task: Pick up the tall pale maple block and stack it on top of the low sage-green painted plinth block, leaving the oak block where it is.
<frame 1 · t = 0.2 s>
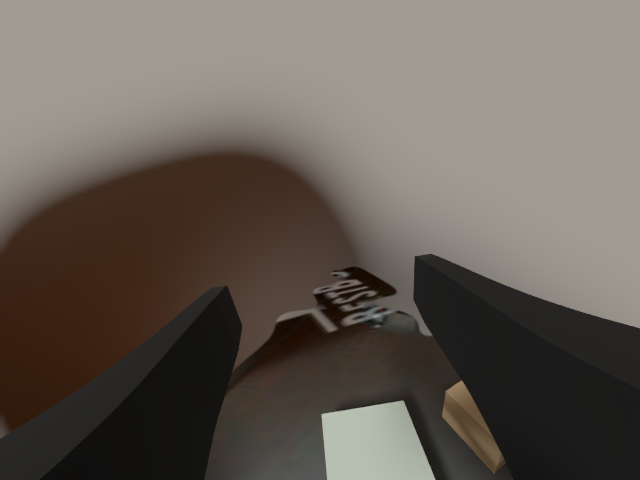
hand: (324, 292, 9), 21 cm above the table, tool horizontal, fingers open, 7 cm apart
oak block: (483, 428, 23), on the table
plinth block: (375, 477, 20), on the table
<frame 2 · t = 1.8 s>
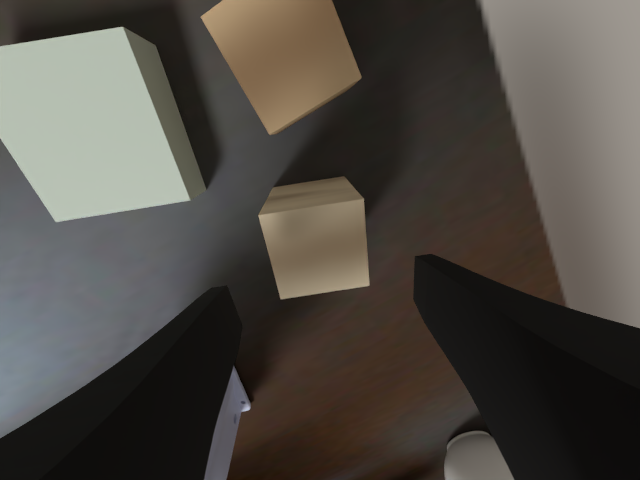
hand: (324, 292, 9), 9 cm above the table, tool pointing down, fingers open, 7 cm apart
maple block: (313, 215, 18), on the table
oak block: (290, 70, 14), on the table
plinth block: (124, 136, 15), on the table
lidded jar: (467, 441, 33), on the table
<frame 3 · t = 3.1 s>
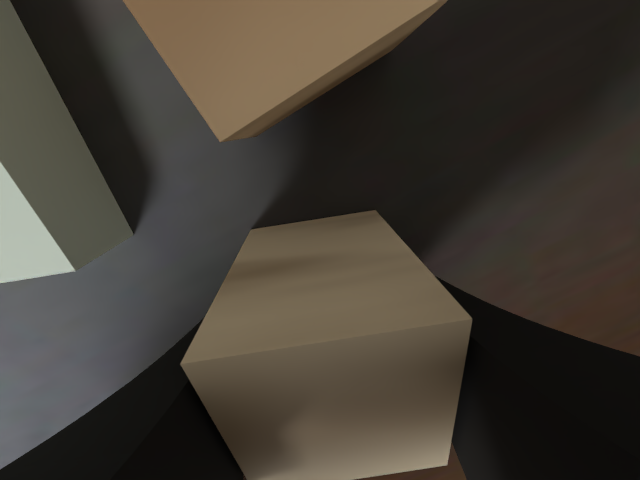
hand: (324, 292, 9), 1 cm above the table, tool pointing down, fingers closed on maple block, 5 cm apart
maple block: (321, 272, 11), on the table, touching gripper
oak block: (278, 7, 7), on the table
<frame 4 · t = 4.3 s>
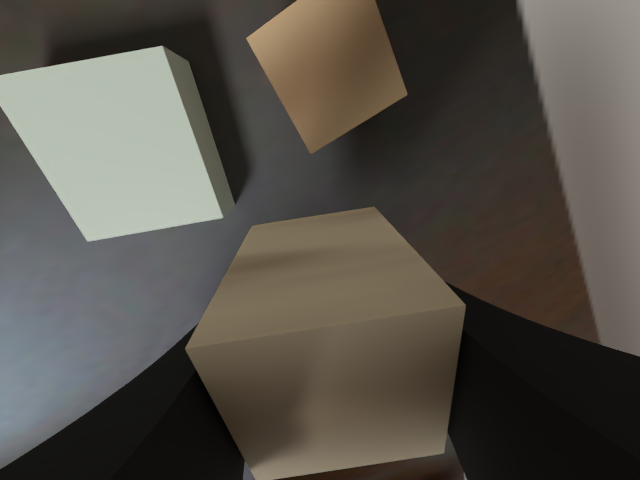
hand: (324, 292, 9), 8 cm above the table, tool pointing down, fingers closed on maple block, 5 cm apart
maple block: (321, 268, 11), point 7 cm above the table, touching gripper
oak block: (324, 84, 14), on the table
plinth block: (153, 152, 15), on the table
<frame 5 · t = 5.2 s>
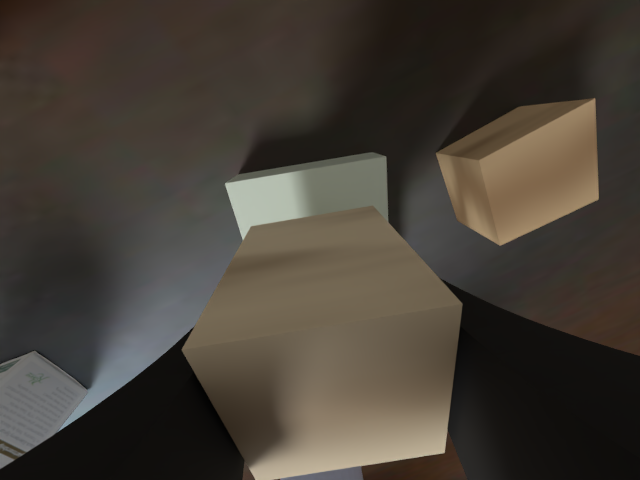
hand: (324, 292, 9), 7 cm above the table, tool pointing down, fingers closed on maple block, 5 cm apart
maple block: (321, 268, 11), point 5 cm above the table, touching gripper
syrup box: (41, 379, 20), on the table
oak block: (484, 168, 15), on the table
plinth block: (315, 223, 16), on the table
when the fingers open (6 cm above the table, at t = 5.9 s): maple block drops 1 cm, resting on plinth block.
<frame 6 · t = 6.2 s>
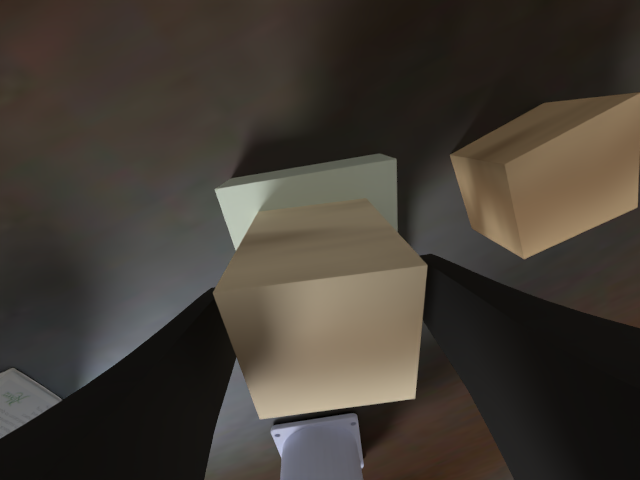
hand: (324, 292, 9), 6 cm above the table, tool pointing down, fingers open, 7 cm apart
maple block: (318, 252, 12), point 2 cm above the table, touching plinth block
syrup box: (22, 396, 19), on the table
oak block: (502, 171, 14), on the table
plinth block: (316, 231, 15), on the table, touching maple block
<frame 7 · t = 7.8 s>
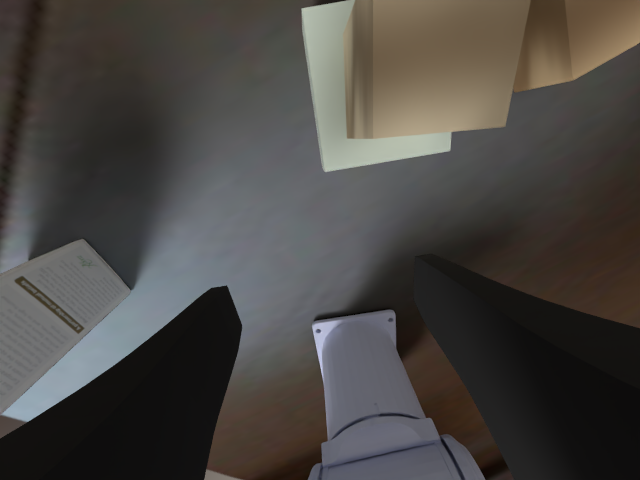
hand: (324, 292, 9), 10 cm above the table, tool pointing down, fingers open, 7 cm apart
maple block: (389, 86, 13), point 3 cm above the table
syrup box: (85, 276, 20), on the table
oak block: (544, 29, 15), on the table
plinth block: (371, 95, 16), on the table
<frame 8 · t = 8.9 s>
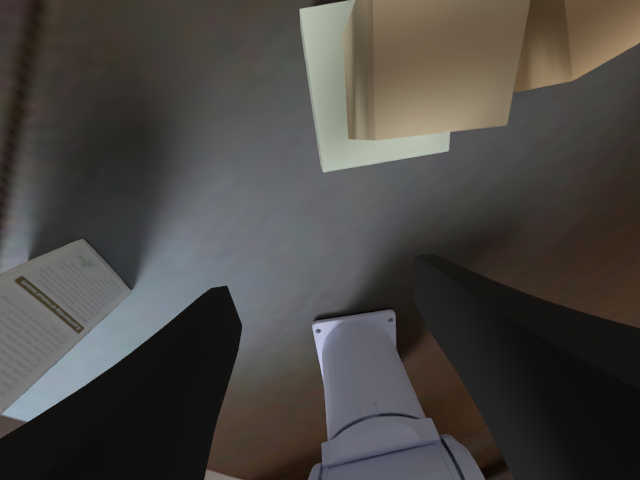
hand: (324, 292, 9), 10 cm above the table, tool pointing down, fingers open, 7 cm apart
maple block: (389, 86, 13), point 3 cm above the table, touching plinth block
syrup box: (85, 276, 20), on the table
oak block: (544, 29, 15), on the table
plinth block: (369, 96, 16), on the table, touching maple block
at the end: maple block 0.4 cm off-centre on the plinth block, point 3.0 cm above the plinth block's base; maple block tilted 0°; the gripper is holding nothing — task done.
